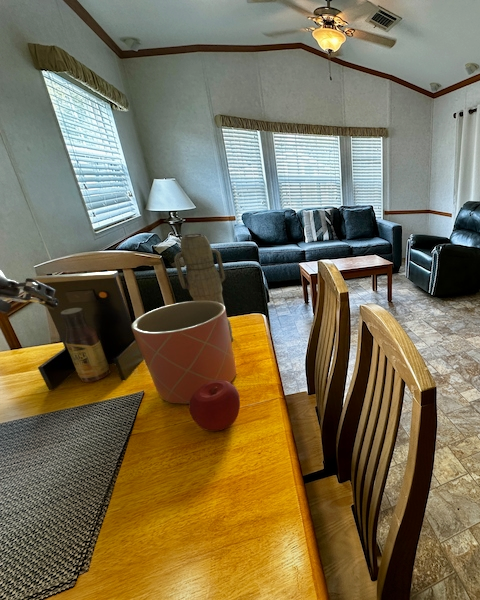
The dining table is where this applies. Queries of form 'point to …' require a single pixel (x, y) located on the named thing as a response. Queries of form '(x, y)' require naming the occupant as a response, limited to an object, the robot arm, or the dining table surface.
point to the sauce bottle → (84, 346)
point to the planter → (185, 347)
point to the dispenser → (92, 322)
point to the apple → (215, 405)
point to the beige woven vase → (201, 270)
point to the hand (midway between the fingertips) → (32, 307)
